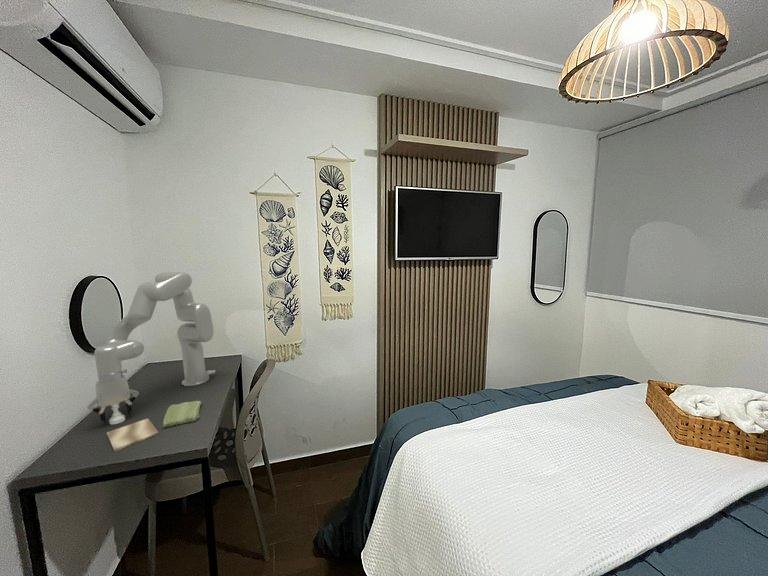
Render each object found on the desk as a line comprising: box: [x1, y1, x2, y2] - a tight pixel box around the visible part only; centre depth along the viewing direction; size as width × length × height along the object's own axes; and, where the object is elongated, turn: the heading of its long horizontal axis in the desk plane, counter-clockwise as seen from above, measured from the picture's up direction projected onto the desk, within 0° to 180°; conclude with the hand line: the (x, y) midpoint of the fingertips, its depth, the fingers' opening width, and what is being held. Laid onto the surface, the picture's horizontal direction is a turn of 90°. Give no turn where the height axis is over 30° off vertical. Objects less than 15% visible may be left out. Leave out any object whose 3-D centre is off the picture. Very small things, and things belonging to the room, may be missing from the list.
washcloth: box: [162, 400, 202, 429], centre depth 133 cm, size 13×18×3 cm
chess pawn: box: [108, 402, 126, 425], centre depth 129 cm, size 5×5×9 cm
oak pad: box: [106, 417, 160, 452], centre depth 120 cm, size 13×16×1 cm
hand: (116, 417), depth 130 cm, fingers open, 7 cm apart
